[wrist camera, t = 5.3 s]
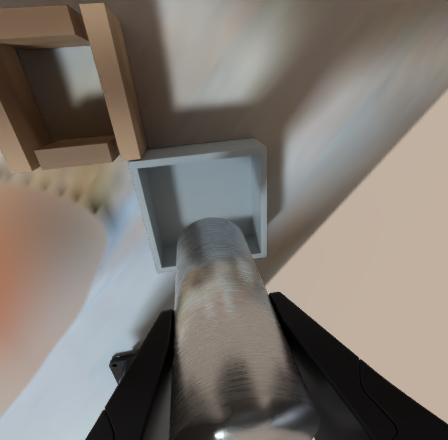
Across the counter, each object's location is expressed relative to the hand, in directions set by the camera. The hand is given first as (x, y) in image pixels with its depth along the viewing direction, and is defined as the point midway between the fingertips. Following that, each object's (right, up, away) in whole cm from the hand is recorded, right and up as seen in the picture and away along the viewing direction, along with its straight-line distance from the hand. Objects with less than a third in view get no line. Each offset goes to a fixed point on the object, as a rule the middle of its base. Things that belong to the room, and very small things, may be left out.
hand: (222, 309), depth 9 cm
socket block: (-8, +10, +5) cm, 14 cm away
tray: (-1, +5, +9) cm, 11 cm away
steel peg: (-1, +2, +4) cm, 4 cm away
